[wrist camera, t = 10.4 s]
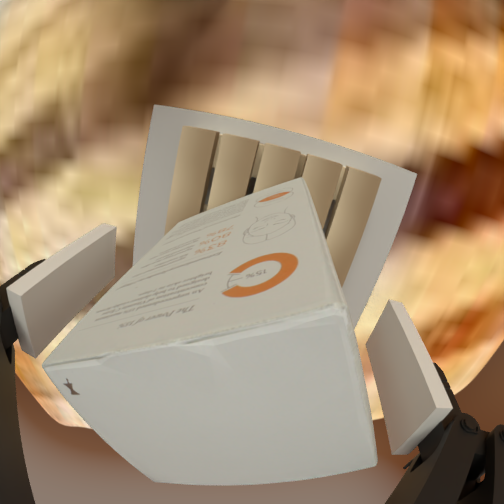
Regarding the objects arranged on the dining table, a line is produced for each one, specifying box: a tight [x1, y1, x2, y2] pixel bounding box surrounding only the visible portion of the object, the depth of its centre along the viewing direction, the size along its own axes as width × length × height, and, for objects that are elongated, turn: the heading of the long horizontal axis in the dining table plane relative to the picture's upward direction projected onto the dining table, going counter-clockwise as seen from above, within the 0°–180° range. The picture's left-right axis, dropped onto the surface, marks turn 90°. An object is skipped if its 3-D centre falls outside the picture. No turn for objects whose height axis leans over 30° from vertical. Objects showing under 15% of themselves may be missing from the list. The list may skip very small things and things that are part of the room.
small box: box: [42, 177, 378, 485], centre depth 12 cm, size 8×6×13 cm
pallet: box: [164, 126, 382, 288], centre depth 20 cm, size 12×12×2 cm
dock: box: [133, 105, 417, 328], centre depth 22 cm, size 18×14×4 cm
